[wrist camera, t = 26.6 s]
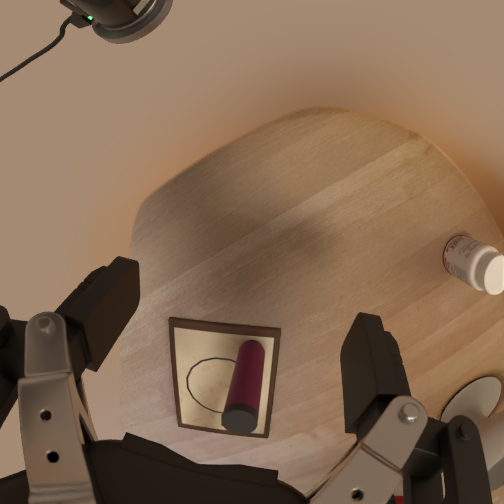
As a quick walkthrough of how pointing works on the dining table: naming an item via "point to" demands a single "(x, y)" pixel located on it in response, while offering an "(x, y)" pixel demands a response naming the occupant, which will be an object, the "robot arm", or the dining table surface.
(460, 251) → the pill bottle
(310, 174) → the dining table surface
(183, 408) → the pad
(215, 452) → the dining table surface
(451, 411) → the chalice
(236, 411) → the marker
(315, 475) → the dining table surface
